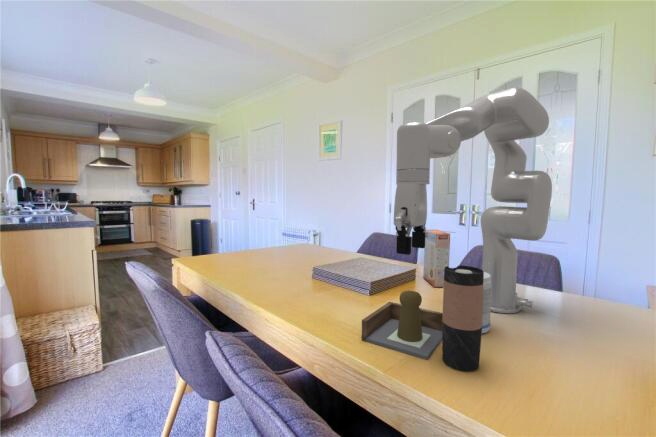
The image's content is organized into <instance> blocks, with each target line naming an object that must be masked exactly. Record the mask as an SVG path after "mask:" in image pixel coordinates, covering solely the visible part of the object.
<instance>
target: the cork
mask: <svg viewBox="0 0 656 437" xmlns="http://www.w3.org/2000/svg"><path fill="white" fill-rule="evenodd" d="M422 300H423V298H422V296H421V294H420V293H419V292H418V291H415V290H403V291H402V292H401V293H400V295H399V304H402V307H401V313H400V319H399V326H398V332H397V336H398V338H399V339H401V340H404V341H408V342H418V341H421V340H422V338H423V336H422V327H421V318H420V309H419V308H420V306H421V305H422Z"/></svg>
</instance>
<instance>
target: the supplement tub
mask: <svg viewBox="0 0 656 437" xmlns="http://www.w3.org/2000/svg"><path fill="white" fill-rule="evenodd" d="M491 313H492V311H491V275H490V274H488V273H486V272H484V280H483V314H482V334H486V333H487V332H489V331H490V329H491Z"/></svg>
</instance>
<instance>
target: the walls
mask: <svg viewBox="0 0 656 437" xmlns="http://www.w3.org/2000/svg"><path fill="white" fill-rule="evenodd" d="M401 307H402V304H401V303H396V302H391V301H388V302H387V303H385V304H384V305H382V306H380V307H379V308H377V309H376V310H375V311H373V312H372V313H370V314H369V315H367V316H366V317H364V318H363V319H361V341H363V339H362V337H363V338H365V340H366V338H367V337H368V336H370V335H371V334H372V333H373V332H375V331H376V330H377V329H378V328H380V327H381V326H382V325H383V324H385V323H386V322H387V321H389V320H390V319H396V320H399V319H400V313H401ZM419 309H420V318H421V326H424V327H428V328H433V329H437V330H441V331H442V316H443V312H440V311H435V310H430V309H426V308H422V307H419Z"/></svg>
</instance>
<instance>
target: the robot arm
mask: <svg viewBox="0 0 656 437" xmlns="http://www.w3.org/2000/svg"><path fill="white" fill-rule="evenodd" d="M549 123H550V118H549V114H548V112H547V110H546V108H545V107H544V106H543V105H542V103H540V101H539V100H537V99H536V98H535V97H534V95H532V93H530V92H529V91H528V90H526V89H524V88H522V87H518V86H516V87H514V86H513V87H511V88H506V89H502V90H499V91H495V92H491V93H488V94H487V93H486V94H484V95H482V96H480V97H478V98H476V99H474V100H472V101H471V102H469V103H468V104H465V105H463V106H462V107H460V108H458V109H456V110H452V111H450V112H448V113H446V114H444V115H442V116H440V117H437V118H435V119H432V120H430V121H427V122H425V123H424V122H407V123H403V124H401V125H400V126H398V128H397V131H396V168H395V169H396V173H395V174H396V181H395V182H396V184H395V185H396V189H395V196H394V207H393V225H394V226H395V227H394V228H395V231H396V232H395V236H396V253H397V254H398V255H407V256H410V255H411V254H412V248H415V249H424V248H425V231H426V230H427V229H426V224H427V218H428V197H427V196H428V194H427V192H428V190H427V185H430V180H431V179H430V178H431V177H430V176H431V175H430V174H431V172H430V169H431V159H440V158H447V157H451V156H452V155H454V154H455V153H457V151H458V150H459V149H460V147H461V143H462V142H464V141H468V140H470V139H473V138H475V137H477V136H478V135H479V134H481V133H482V132H484V136H485V138H486V139H487V141H488V143H489V145H490V147H491V149H492V151H493V155H494V168H493V172H492V173H493V174H492V180H491V188H490V194H491V198H492V199H493V200H494V201H495V202H499V203H507V204H509V203H510V204H526V207H525V206H524V207H523V206H506V205H505V206H502V205H501V206H500V205H499V206H492V207H488V208H487V209H484V211H483V212H482V213H481V215H480V216H481V217H480V228H481V234H482V268H481V269H482V270H483V272H486V273H488V274H490V275H491V312H493V313H501V314H516V313H520V312H521V310H522V307H525V308H529V309H530V308H531V309H533V306H534V304H533V302H534V301H532V300H529V299H528V298H521V297H520V296H518V292H517V278H518V277H517V274H518V272H517V271H518V258H519V257H518V251H517V248H516V245H515V244H514V242H513V239H515V240H521V241H522V240H523V241H538V240H541V239H543V237H544V236H545V235H546V232H547V228H548V221H549V215H550V209H551V208H550V207H551V200H552V194H553V183H552V179H551V177H550V175H549V173H548V172H546V171H543V170H526V168H527V167H526V164H527V155H526V152H525V151H524V149H523V148H522V147H521V146H520V145H519V144H518V143H517V142H516V141H518V140H526V139H532V138H538V137H540V136H542V135H544V134H545V133H546V131H547V130H548V128H549ZM410 235H411V236H410ZM521 306H522V307H521Z"/></svg>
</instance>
